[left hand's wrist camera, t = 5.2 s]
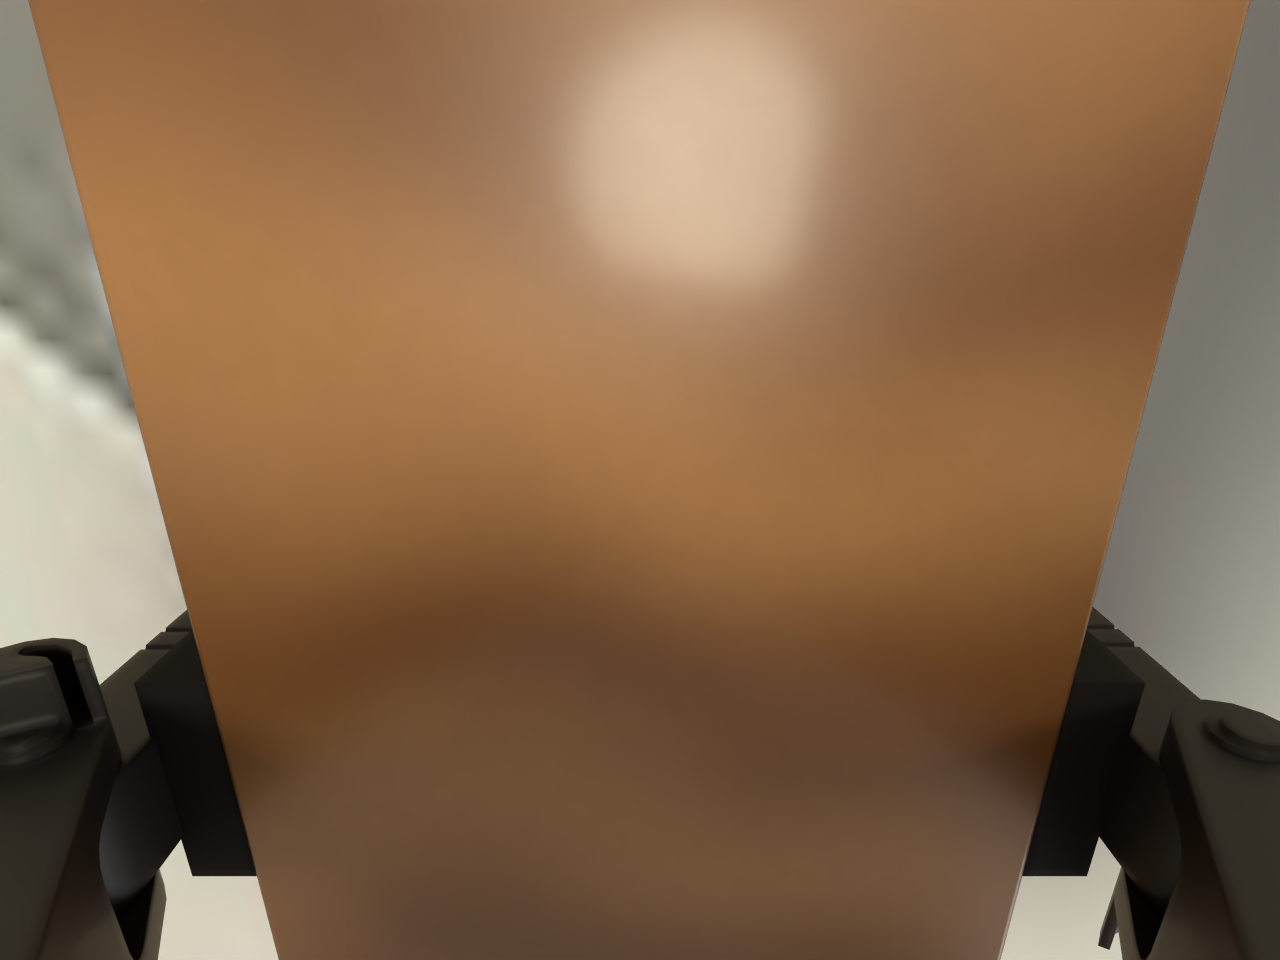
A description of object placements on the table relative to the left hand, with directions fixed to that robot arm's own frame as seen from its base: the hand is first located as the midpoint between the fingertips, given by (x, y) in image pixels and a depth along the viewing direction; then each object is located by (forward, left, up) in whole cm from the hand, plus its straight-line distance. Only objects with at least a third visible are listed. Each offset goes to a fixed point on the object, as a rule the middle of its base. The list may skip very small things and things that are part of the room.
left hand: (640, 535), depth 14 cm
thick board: (+23, -25, 0) cm, 34 cm away
